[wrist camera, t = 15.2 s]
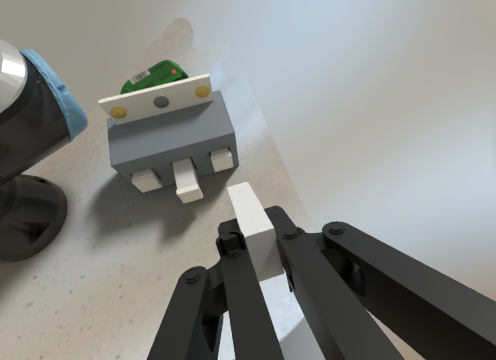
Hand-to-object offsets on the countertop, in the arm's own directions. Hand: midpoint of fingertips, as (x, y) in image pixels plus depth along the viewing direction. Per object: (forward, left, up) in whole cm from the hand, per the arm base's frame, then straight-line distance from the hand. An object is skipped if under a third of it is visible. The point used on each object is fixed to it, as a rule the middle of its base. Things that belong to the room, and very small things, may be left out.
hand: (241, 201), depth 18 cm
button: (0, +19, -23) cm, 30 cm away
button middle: (-7, +15, -23) cm, 28 cm away
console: (-7, +21, -26) cm, 34 cm away
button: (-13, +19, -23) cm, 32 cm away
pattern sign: (-7, +24, -15) cm, 29 cm away
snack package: (-9, +40, -26) cm, 49 cm away
